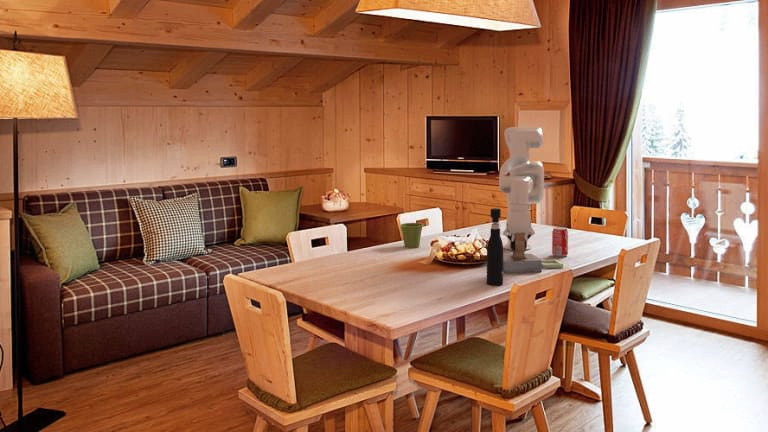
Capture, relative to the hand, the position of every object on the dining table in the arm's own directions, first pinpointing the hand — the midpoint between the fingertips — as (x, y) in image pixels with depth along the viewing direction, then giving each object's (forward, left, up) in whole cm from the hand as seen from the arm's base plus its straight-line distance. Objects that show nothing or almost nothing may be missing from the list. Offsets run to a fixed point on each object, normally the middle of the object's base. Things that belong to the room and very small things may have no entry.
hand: (518, 249), depth 322 cm
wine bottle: (+24, -17, -9) cm, 31 cm away
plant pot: (-56, -37, -9) cm, 68 cm away
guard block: (0, 0, -8) cm, 8 cm away
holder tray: (-3, +15, -8) cm, 18 cm away
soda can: (-23, +27, -9) cm, 37 cm away
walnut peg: (0, 0, -4) cm, 4 cm away
